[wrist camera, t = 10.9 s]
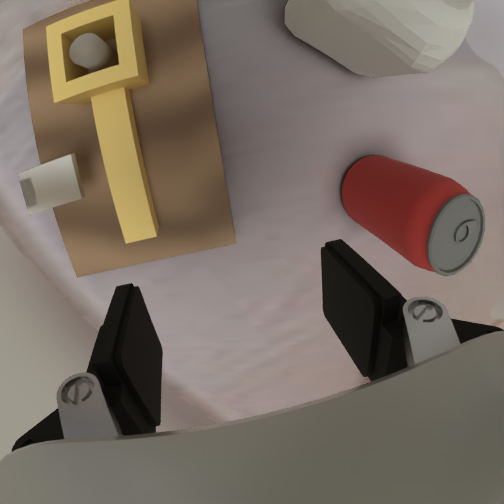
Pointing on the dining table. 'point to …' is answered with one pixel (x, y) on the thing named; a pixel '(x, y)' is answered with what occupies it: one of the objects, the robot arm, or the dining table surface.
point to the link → (109, 104)
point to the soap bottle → (382, 32)
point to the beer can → (415, 213)
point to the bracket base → (150, 138)
